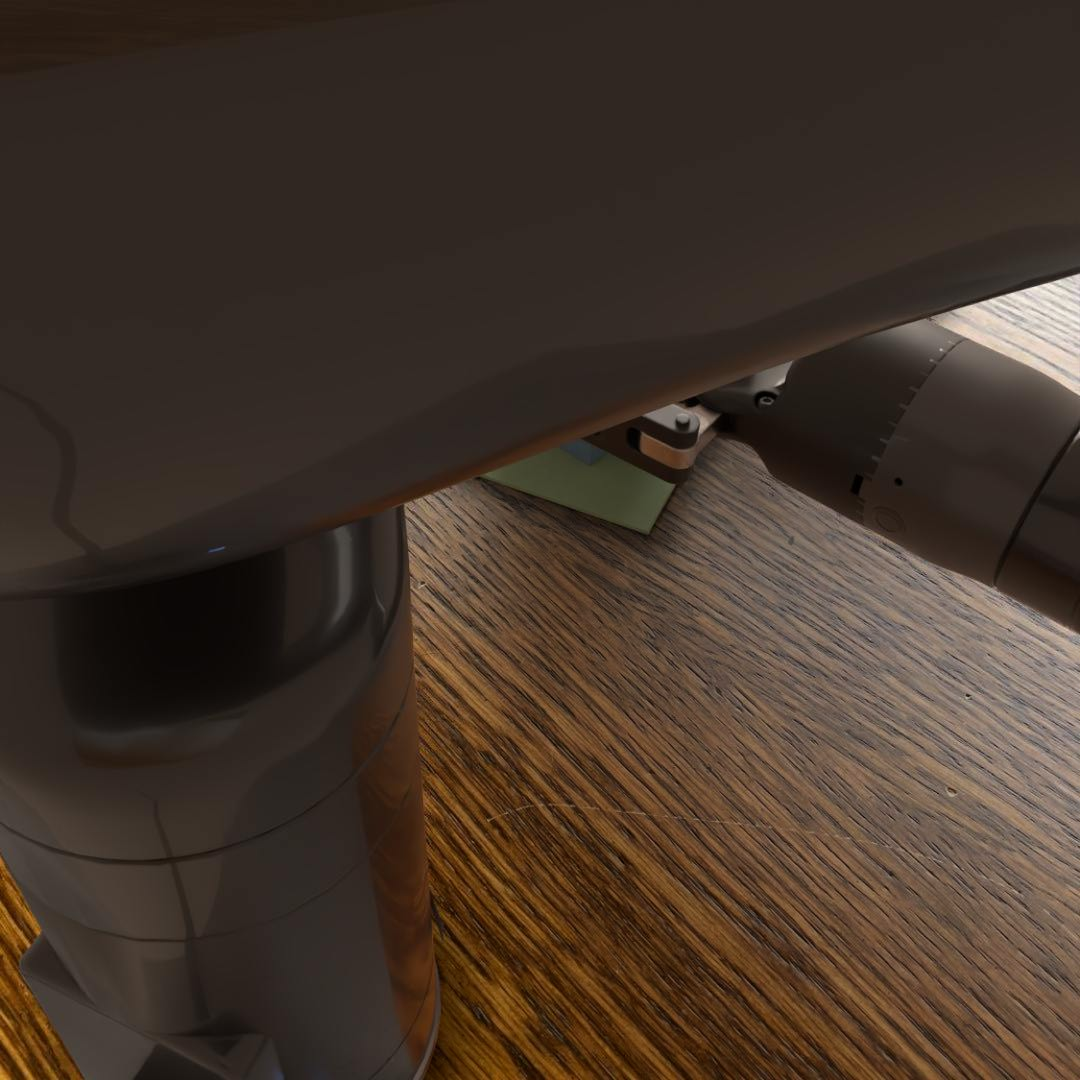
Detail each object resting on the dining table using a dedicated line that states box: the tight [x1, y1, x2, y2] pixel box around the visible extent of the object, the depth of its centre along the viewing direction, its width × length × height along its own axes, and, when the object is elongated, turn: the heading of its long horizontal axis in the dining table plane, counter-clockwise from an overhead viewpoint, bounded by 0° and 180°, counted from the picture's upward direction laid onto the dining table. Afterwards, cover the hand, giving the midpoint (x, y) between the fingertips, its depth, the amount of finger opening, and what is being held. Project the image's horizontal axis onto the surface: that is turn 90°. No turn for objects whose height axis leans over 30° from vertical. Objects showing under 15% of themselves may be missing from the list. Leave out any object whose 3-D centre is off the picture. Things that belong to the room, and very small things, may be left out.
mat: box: [479, 447, 677, 536], centre depth 57 cm, size 11×11×1 cm
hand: (571, 263), depth 52 cm, fingers open, 8 cm apart
